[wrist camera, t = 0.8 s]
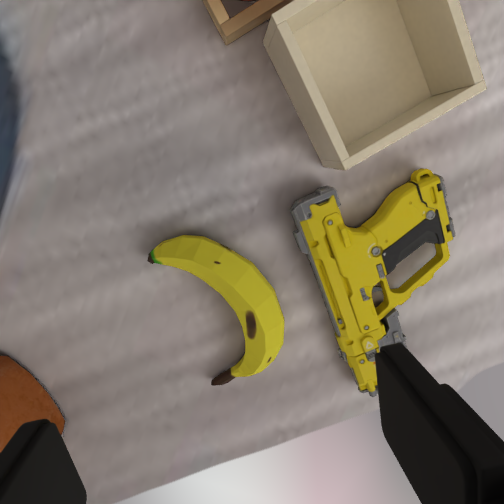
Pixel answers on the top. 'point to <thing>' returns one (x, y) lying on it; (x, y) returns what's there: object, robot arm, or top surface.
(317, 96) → the open wooden box
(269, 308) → the banana
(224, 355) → the top surface
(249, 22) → the rack
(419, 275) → the toy gun
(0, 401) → the bread
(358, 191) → the top surface
